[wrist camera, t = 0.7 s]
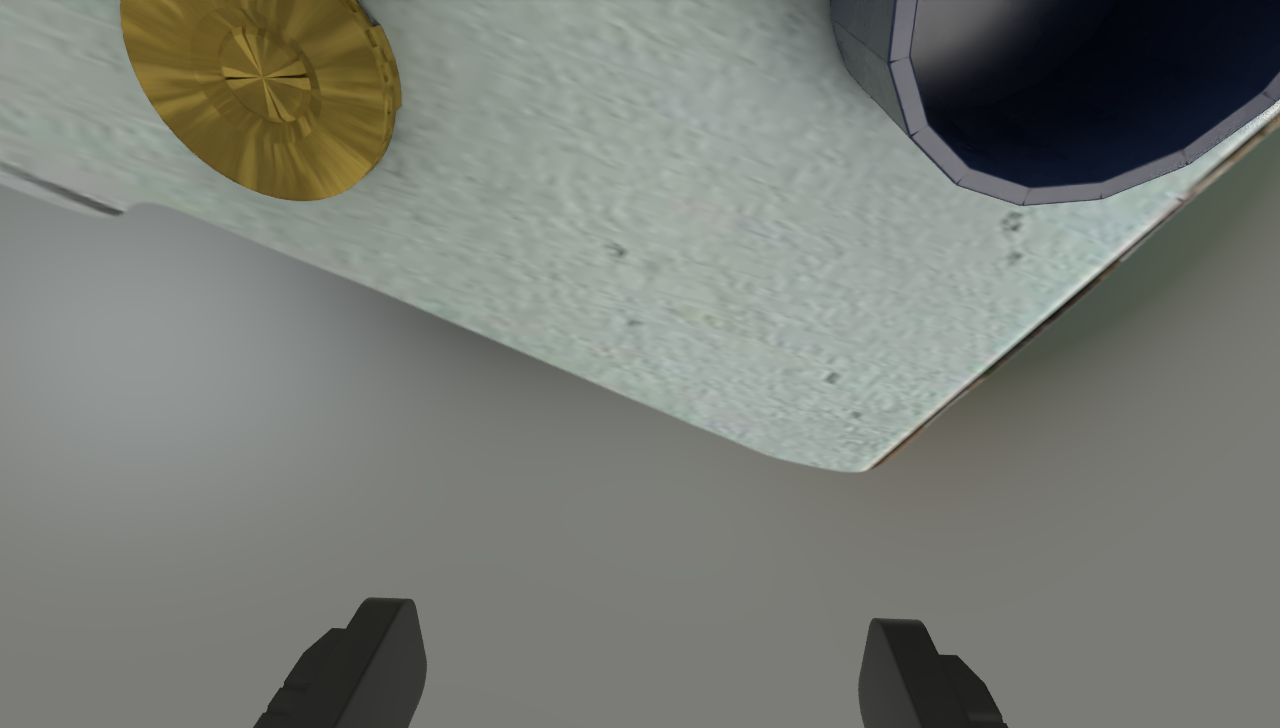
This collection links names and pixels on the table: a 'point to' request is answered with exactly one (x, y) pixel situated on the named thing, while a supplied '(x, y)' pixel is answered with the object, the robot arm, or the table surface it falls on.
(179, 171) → the table surface
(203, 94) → the golden brown disc
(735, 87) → the table surface
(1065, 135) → the pot
